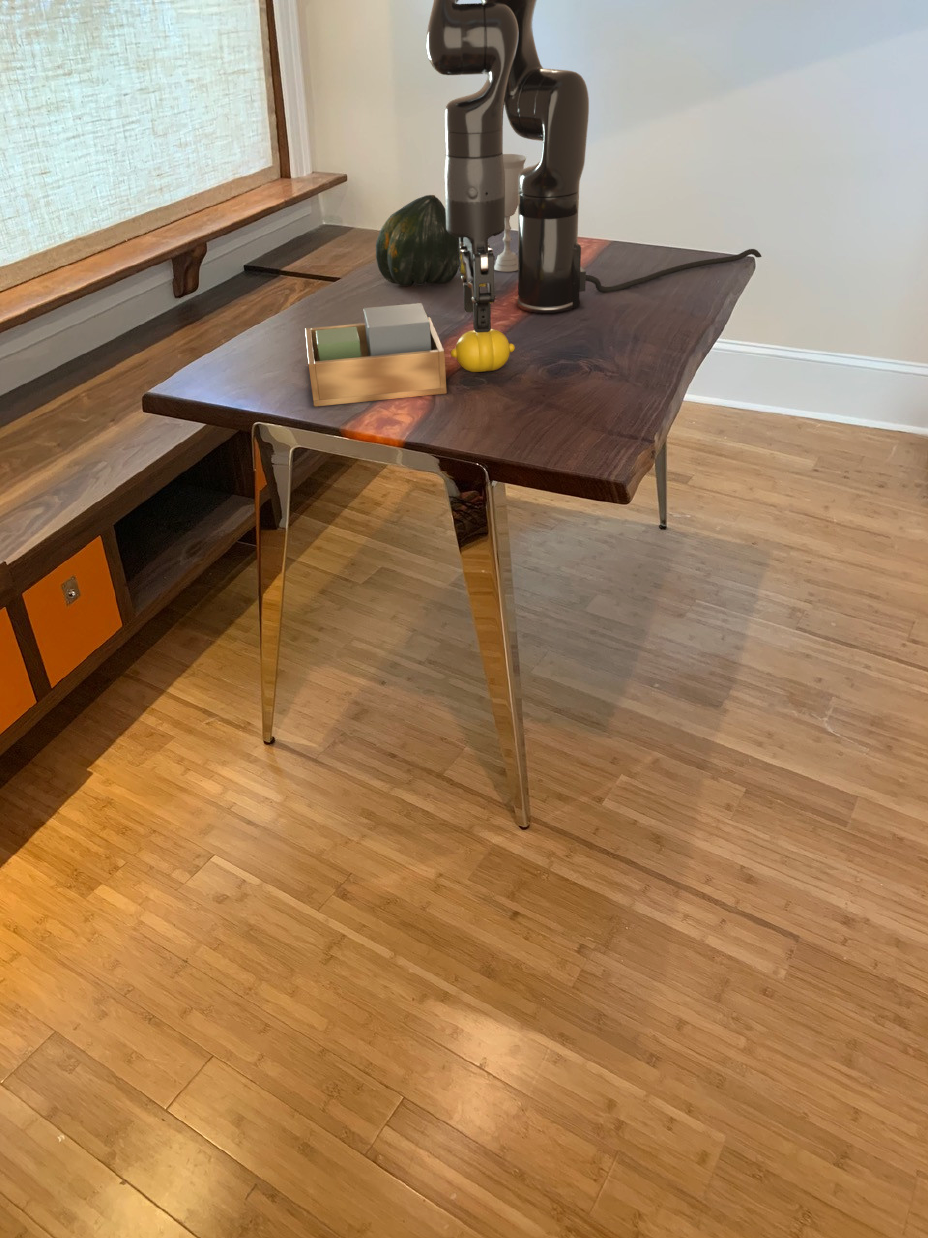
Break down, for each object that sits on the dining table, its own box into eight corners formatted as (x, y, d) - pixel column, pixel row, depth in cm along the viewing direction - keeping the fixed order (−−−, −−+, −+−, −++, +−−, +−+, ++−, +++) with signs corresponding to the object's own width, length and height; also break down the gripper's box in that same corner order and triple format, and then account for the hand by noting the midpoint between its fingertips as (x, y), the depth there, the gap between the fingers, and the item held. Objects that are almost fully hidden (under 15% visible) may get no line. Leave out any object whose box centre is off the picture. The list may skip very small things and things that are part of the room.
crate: (432, 356, 137) (430, 316, 134) (446, 393, 126) (444, 351, 123) (310, 368, 135) (305, 328, 132) (314, 406, 124) (308, 364, 121)
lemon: (510, 359, 135) (510, 320, 132) (518, 374, 131) (518, 334, 127) (448, 365, 134) (446, 326, 131) (454, 380, 130) (452, 340, 126)
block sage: (360, 368, 132) (356, 326, 129) (363, 383, 128) (359, 340, 124) (321, 372, 132) (315, 330, 128) (323, 387, 127) (317, 344, 124)
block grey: (425, 359, 134) (421, 302, 130) (433, 380, 128) (429, 321, 123) (368, 364, 133) (363, 307, 129) (374, 386, 127) (368, 327, 122)
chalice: (526, 272, 168) (527, 161, 157) (488, 273, 168) (486, 163, 158) (525, 260, 174) (525, 153, 163) (488, 261, 174) (486, 154, 163)
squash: (352, 246, 166) (380, 185, 153) (422, 233, 173) (455, 174, 160) (389, 315, 164) (420, 260, 151) (458, 299, 172) (493, 245, 159)
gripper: (515, 203, 114) (514, 336, 123) (494, 179, 125) (495, 302, 135) (453, 207, 113) (457, 341, 122) (438, 182, 124) (442, 306, 134)
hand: (477, 320), depth 128 cm, fingers open, 8 cm apart
